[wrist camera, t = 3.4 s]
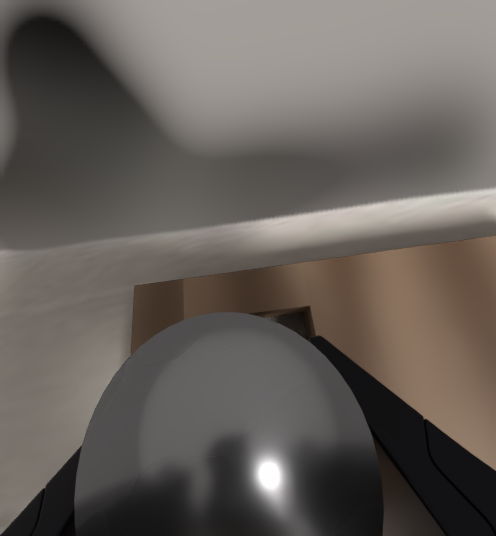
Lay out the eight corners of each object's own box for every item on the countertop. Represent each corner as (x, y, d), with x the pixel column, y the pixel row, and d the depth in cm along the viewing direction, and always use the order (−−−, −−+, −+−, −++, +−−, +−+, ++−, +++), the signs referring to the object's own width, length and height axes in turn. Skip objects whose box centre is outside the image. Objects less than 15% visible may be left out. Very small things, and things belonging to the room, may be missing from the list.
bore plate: (154, 508, 12) (119, 557, 10) (158, 295, 16) (134, 285, 14) (664, 465, 11) (799, 506, 8) (535, 244, 15) (596, 221, 12)
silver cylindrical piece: (255, 443, 13) (195, 847, 3) (202, 372, 14) (27, 446, 4) (314, 379, 14) (456, 489, 3) (258, 318, 15) (234, 263, 5)
